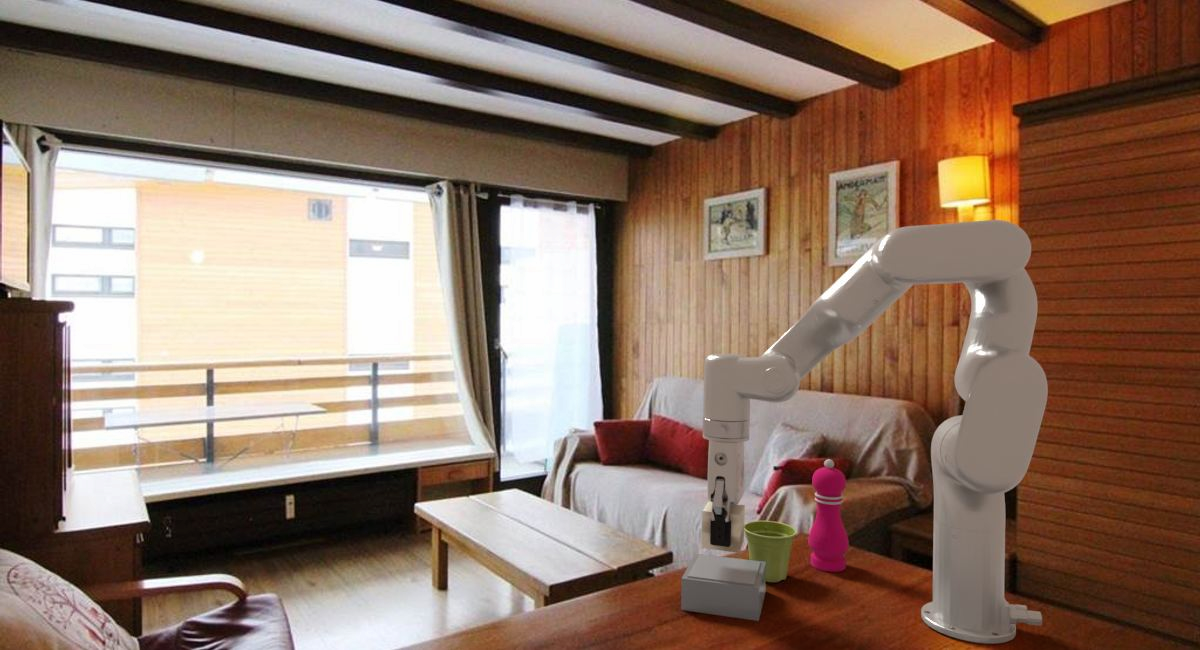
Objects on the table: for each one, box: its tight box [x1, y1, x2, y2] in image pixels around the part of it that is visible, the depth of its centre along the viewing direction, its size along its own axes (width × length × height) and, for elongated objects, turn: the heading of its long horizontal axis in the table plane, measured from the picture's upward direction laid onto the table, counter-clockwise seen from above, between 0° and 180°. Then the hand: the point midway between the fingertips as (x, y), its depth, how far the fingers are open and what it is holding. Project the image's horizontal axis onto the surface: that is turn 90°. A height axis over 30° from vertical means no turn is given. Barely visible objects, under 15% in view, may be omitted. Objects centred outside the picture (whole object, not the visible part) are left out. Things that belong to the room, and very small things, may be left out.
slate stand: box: [680, 553, 767, 622], centre depth 112 cm, size 12×12×5 cm
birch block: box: [701, 501, 746, 554], centre depth 112 cm, size 6×6×6 cm
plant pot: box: [744, 520, 798, 583], centre depth 122 cm, size 9×9×9 cm
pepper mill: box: [807, 458, 850, 573], centre depth 127 cm, size 7×7×20 cm
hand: (723, 537), depth 112 cm, fingers closed on birch block, 6 cm apart
